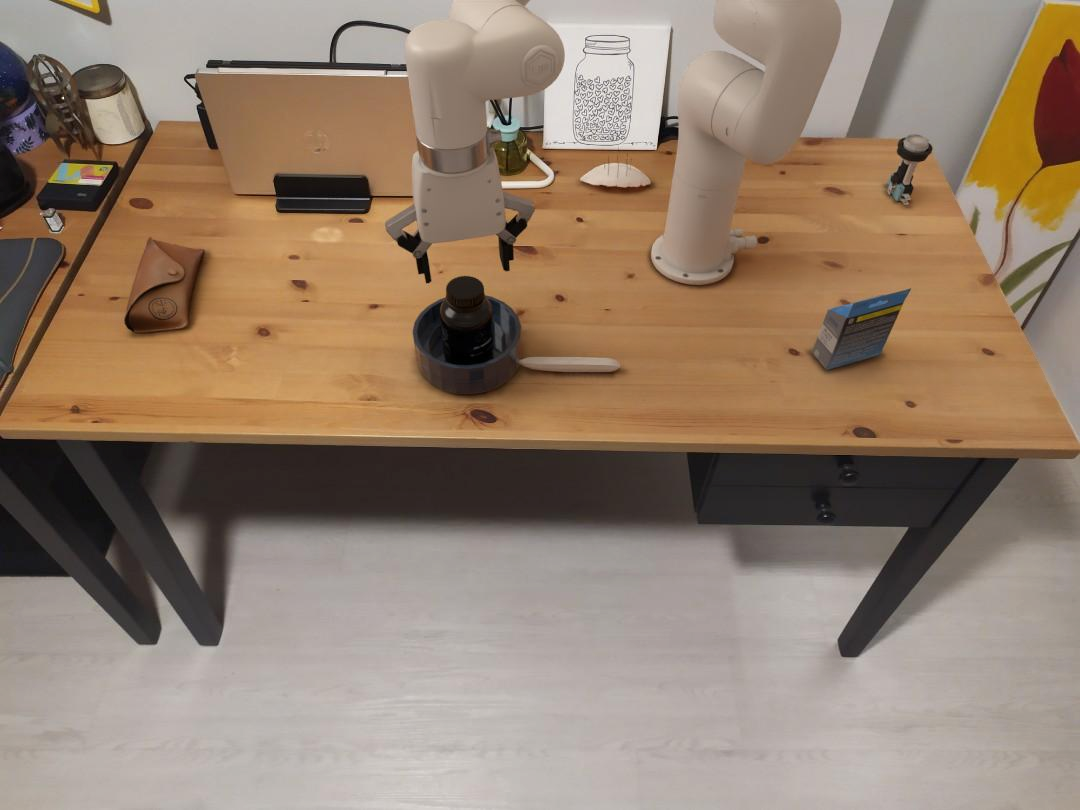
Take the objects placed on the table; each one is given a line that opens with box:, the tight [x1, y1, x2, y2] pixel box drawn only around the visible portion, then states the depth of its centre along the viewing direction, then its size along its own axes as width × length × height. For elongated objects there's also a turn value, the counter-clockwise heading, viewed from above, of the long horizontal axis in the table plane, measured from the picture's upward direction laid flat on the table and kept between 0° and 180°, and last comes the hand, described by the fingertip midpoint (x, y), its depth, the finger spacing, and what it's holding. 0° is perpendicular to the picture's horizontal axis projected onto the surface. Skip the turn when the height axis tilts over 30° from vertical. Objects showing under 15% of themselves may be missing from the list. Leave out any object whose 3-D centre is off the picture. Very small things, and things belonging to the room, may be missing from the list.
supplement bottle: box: [440, 275, 494, 365], centre depth 106 cm, size 7×7×12 cm
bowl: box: [412, 294, 523, 395], centre depth 109 cm, size 14×14×6 cm
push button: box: [886, 133, 934, 206], centre depth 133 cm, size 7×5×10 cm
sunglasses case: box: [123, 236, 206, 334], centre depth 118 cm, size 18×7×7 cm
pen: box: [519, 356, 621, 373], centre depth 109 cm, size 2×14×2 cm, turn 90°
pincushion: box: [579, 146, 651, 189], centre depth 136 cm, size 12×6×6 cm, turn 87°
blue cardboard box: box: [811, 287, 912, 371], centre depth 107 cm, size 9×4×12 cm, turn 110°
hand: (466, 270), depth 99 cm, fingers open, 9 cm apart
